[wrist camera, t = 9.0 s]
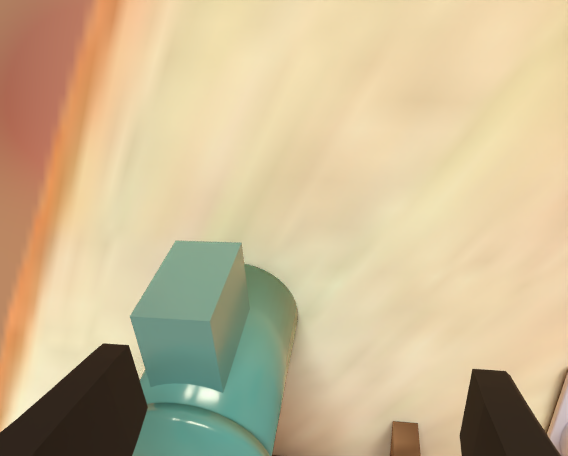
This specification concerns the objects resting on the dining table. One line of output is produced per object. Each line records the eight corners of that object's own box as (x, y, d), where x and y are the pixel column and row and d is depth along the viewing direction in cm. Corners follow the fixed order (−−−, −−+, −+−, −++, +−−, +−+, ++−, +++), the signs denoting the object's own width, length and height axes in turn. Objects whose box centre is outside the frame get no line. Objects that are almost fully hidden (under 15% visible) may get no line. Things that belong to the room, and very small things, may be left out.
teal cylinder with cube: (296, 208, 19) (254, 365, 13) (304, 358, 23) (277, 535, 17) (158, 205, 20) (51, 350, 13) (190, 350, 24) (121, 516, 18)
